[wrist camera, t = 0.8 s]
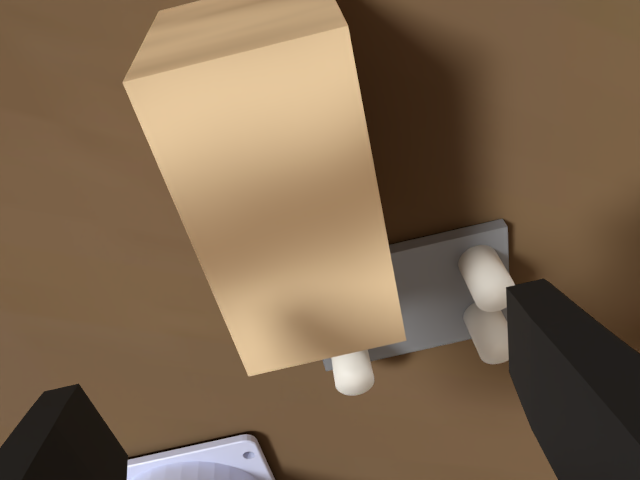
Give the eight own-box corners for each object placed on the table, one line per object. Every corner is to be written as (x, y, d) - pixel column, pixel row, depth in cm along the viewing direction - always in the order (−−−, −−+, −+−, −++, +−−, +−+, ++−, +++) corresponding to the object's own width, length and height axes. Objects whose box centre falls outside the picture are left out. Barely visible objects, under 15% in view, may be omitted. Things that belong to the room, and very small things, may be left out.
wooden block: (372, 228, 20) (406, 340, 16) (248, 256, 21) (248, 376, 16) (320, -32, 16) (347, 25, 11) (159, 9, 16) (122, 82, 11)
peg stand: (506, 321, 23) (530, 366, 21) (324, 361, 24) (331, 409, 22) (502, 219, 20) (529, 259, 19) (295, 266, 21) (300, 311, 19)
